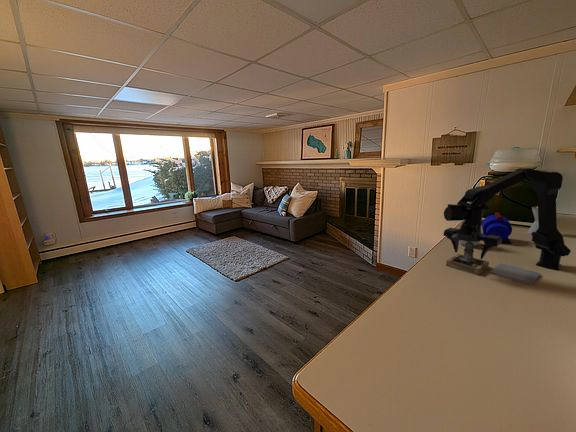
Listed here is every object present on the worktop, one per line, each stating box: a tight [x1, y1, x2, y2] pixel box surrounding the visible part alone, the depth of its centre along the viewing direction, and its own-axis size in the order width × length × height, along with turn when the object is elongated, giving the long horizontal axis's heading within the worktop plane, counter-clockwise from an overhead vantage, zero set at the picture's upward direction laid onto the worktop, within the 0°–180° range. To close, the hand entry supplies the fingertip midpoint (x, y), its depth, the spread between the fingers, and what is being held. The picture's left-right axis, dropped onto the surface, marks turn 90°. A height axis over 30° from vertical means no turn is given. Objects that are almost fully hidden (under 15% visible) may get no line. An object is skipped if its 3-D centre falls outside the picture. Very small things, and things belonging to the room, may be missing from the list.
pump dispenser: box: [458, 219, 484, 247], centre depth 124 cm, size 10×10×15 cm
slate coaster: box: [489, 262, 541, 286], centre depth 94 cm, size 12×12×1 cm
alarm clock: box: [481, 211, 513, 245], centre depth 129 cm, size 12×12×15 cm
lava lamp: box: [527, 205, 539, 235], centre depth 134 cm, size 9×9×35 cm
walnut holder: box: [445, 253, 490, 276], centre depth 102 cm, size 11×11×2 cm
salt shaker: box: [459, 241, 477, 267], centre depth 101 cm, size 6×6×12 cm
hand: (468, 255), depth 101 cm, fingers open, 9 cm apart
